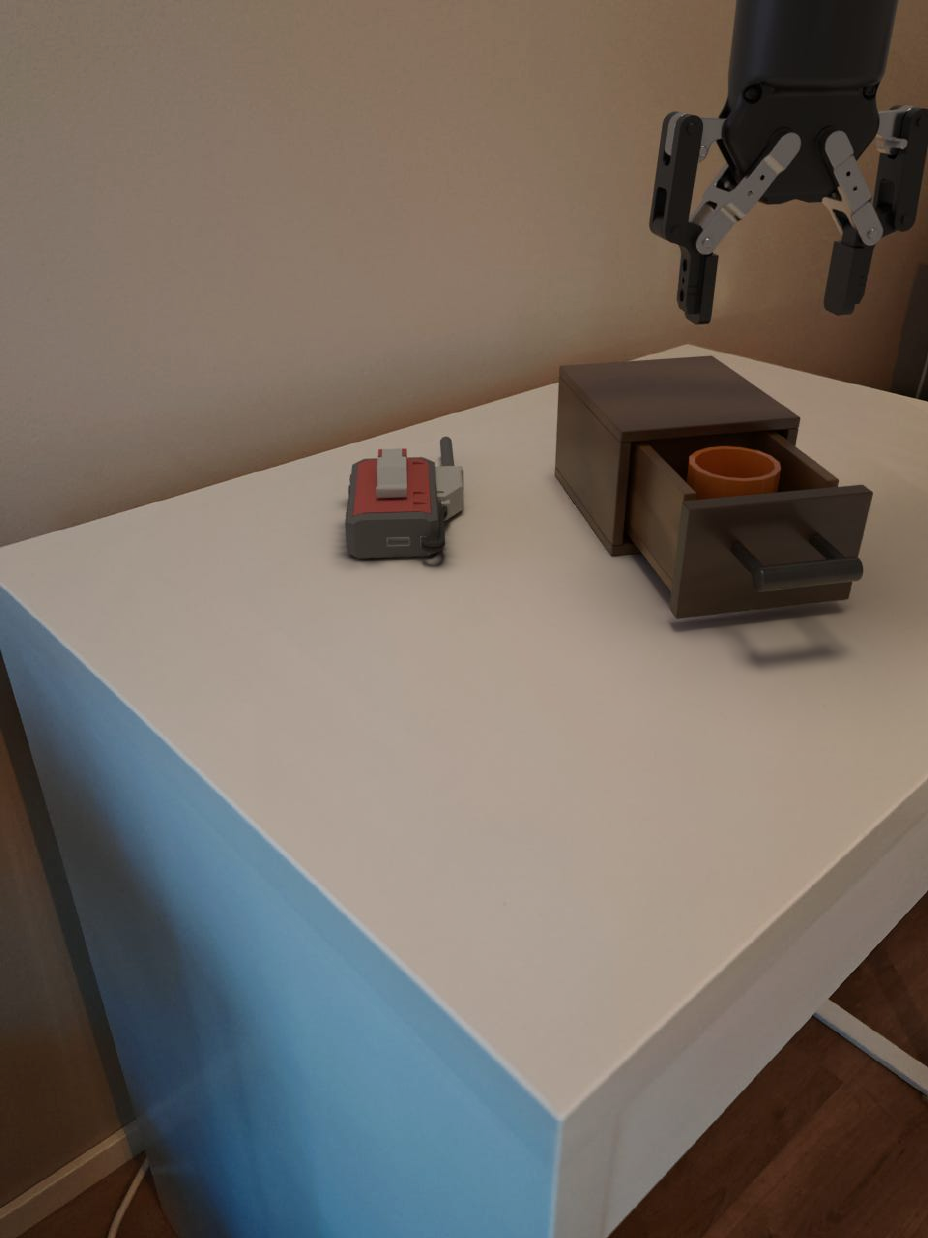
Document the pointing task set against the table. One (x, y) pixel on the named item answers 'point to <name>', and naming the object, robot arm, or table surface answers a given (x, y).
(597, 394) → the cabinet
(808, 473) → the drawer
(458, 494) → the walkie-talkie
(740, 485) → the orange cup
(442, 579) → the table surface
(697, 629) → the table surface
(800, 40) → the robot arm
